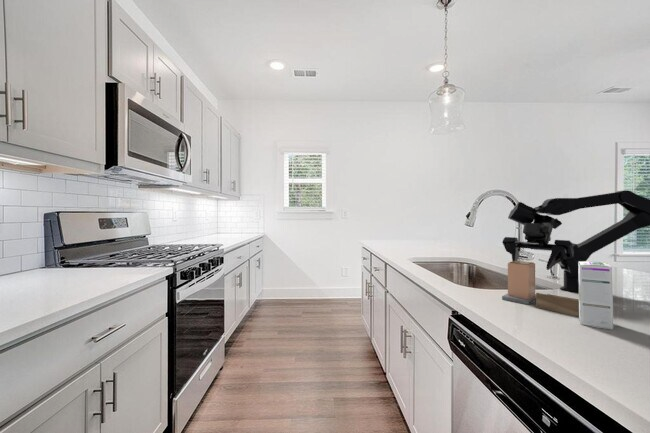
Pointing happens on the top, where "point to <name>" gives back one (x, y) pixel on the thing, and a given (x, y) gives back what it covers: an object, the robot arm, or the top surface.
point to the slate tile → (519, 299)
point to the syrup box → (595, 294)
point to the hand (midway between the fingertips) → (529, 266)
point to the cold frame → (558, 303)
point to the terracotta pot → (521, 279)
